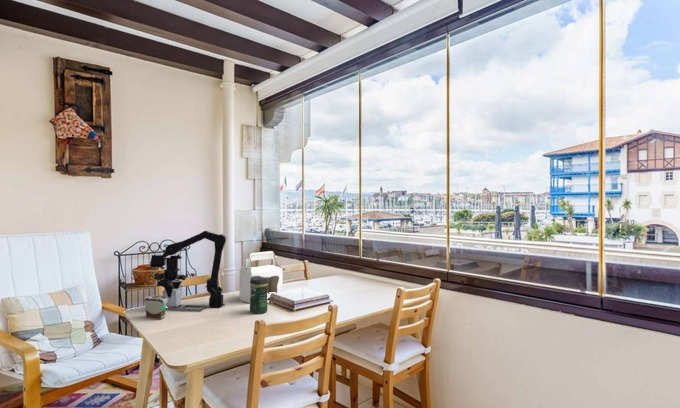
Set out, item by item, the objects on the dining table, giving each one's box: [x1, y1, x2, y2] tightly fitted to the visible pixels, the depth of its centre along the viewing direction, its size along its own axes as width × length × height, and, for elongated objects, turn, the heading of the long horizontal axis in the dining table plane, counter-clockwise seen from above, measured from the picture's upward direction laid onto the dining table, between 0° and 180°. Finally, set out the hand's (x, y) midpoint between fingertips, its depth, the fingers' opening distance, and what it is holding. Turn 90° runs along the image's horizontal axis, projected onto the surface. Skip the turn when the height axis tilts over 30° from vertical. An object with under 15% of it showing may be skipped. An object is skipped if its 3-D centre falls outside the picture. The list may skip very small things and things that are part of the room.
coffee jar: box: [249, 276, 268, 315], centre depth 191 cm, size 10×8×19 cm
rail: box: [165, 303, 208, 313], centre depth 195 cm, size 24×8×1 cm, turn 85°
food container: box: [143, 294, 168, 321], centre depth 180 cm, size 12×6×10 cm, turn 71°
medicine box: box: [162, 288, 182, 307], centre depth 195 cm, size 8×4×9 cm, turn 85°
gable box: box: [238, 250, 284, 304], centre depth 219 cm, size 22×13×28 cm, turn 136°
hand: (171, 296), depth 195 cm, fingers closed on medicine box, 4 cm apart
